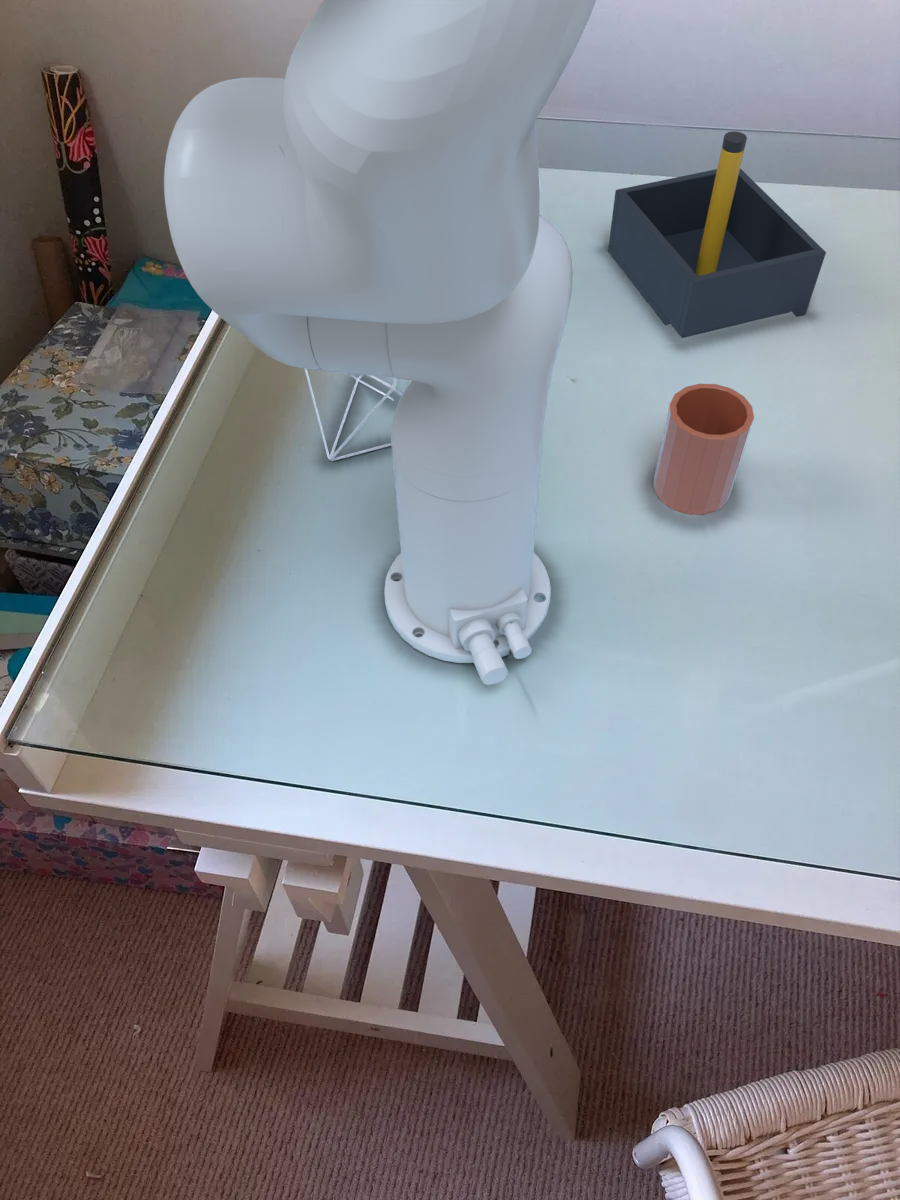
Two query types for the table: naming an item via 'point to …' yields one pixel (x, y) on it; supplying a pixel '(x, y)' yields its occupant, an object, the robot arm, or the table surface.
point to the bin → (746, 264)
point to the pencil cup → (702, 448)
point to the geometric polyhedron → (331, 456)
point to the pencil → (721, 202)
